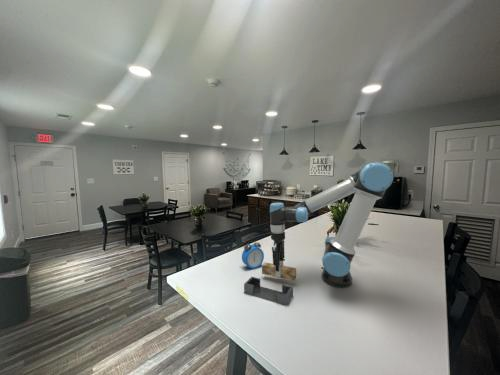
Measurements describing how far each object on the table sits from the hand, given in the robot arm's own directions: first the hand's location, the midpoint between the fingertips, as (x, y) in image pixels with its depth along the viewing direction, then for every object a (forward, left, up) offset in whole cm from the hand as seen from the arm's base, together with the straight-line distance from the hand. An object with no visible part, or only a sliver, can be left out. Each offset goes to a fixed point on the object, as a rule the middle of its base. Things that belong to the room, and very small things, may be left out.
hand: (279, 274), depth 108 cm
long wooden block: (0, 0, -1) cm, 1 cm away
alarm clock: (+21, -9, -4) cm, 23 cm away
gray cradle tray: (+1, +14, -4) cm, 15 cm away
